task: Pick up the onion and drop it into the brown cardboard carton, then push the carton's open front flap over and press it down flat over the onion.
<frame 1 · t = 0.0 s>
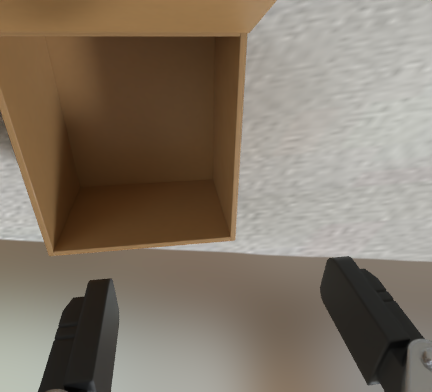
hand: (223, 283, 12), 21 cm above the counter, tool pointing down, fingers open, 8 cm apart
carton: (141, 112, 29), on the counter
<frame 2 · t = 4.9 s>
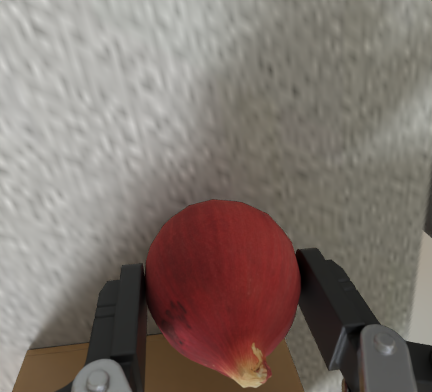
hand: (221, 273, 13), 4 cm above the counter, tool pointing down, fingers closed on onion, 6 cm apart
onion: (208, 217, 16), on the counter, touching gripper
when the fingers open (10 cm above the counter, at t = 11.2 s): onion drops 5 cm, resting on carton.
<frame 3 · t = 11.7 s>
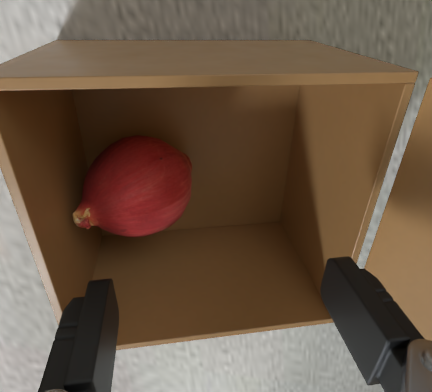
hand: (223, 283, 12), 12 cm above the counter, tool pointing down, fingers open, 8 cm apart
carton: (192, 149, 23), on the counter
onion: (190, 159, 21), point 1 cm above the counter, touching carton
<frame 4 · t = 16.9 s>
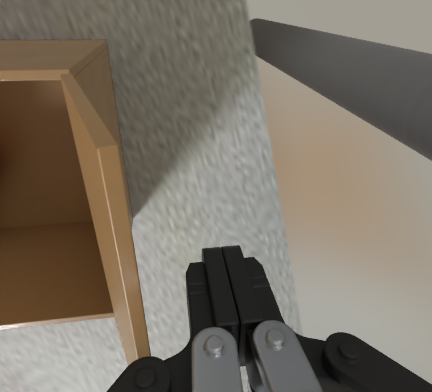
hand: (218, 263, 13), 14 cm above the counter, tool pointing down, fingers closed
flap: (117, 282, 12), point 14 cm above the counter, hinge at 108.6°, touching gripper
carton: (14, 147, 23), on the counter
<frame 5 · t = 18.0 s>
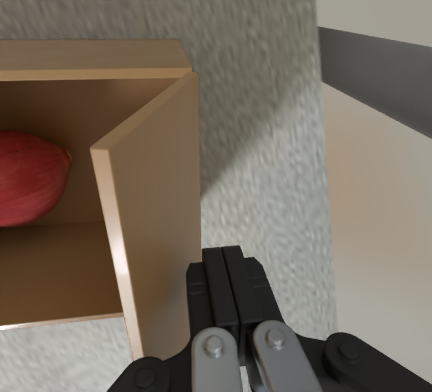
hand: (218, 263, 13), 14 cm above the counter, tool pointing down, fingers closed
flap: (175, 277, 12), point 14 cm above the counter, hinge at 71.4°, touching gripper
carton: (81, 144, 23), on the counter
onion: (72, 154, 22), point 1 cm above the counter, touching carton
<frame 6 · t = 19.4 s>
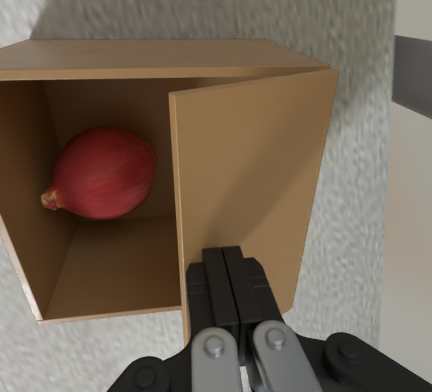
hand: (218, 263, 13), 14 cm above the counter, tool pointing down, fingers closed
flap: (252, 238, 15), point 12 cm above the counter, hinge at 26.2°
carton: (160, 141, 24), on the counter
onion: (156, 150, 23), point 1 cm above the counter, touching carton
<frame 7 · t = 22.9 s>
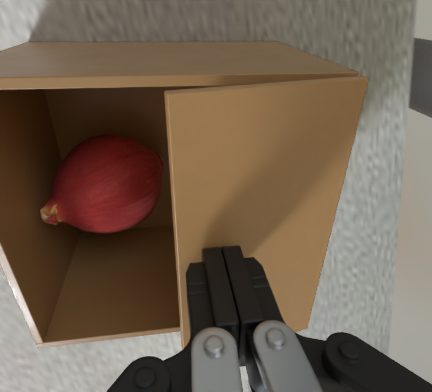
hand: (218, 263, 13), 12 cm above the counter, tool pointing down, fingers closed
flap: (258, 248, 14), point 11 cm above the counter, hinge at 12.4°, touching gripper
carton: (166, 148, 23), on the counter
onion: (162, 158, 22), point 1 cm above the counter, touching carton
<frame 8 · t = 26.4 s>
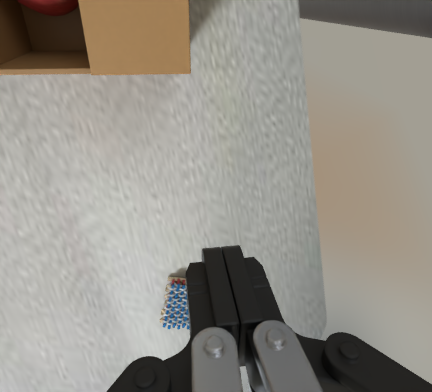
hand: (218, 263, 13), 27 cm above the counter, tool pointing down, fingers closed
woven mat: (195, 297, 53), on the counter
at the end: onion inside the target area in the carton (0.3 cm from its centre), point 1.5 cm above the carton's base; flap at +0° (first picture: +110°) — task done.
